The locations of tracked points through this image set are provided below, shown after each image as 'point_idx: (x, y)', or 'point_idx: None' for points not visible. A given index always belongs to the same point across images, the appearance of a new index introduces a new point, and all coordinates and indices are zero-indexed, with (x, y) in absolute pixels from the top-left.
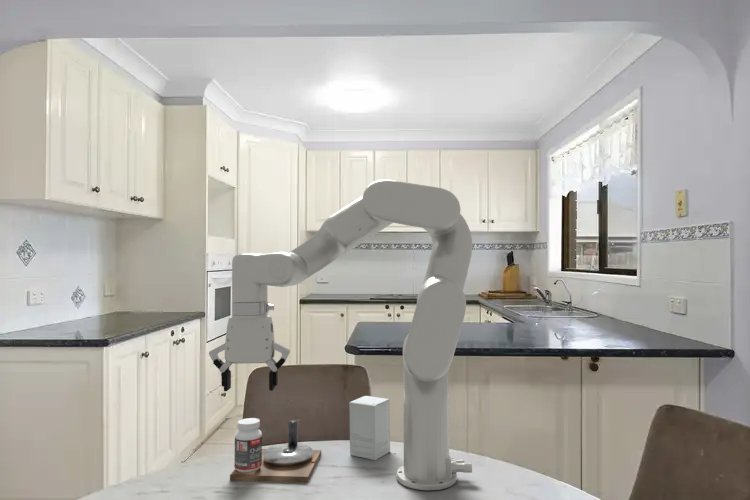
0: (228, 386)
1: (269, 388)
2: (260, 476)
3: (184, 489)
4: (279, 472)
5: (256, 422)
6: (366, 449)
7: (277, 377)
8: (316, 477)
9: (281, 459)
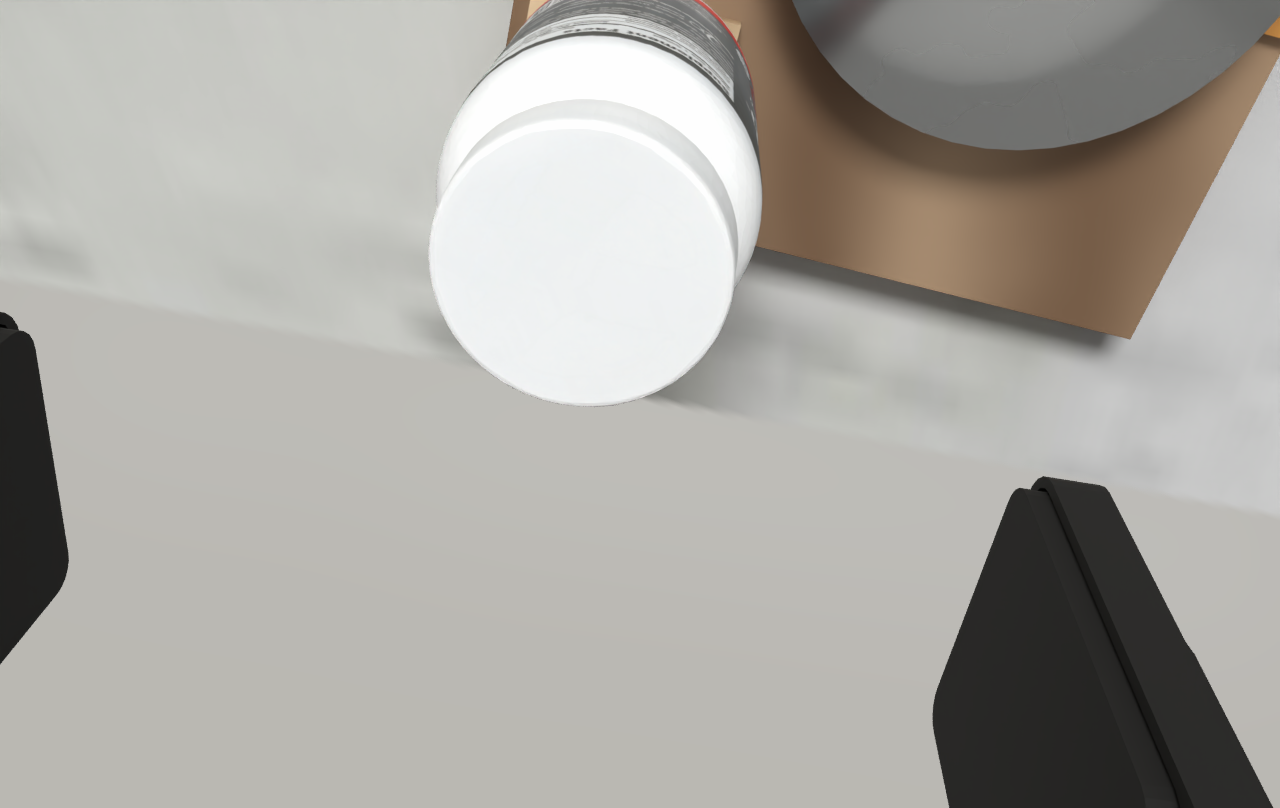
0: (19, 545)
1: (942, 743)
2: None
3: (186, 253)
4: (908, 211)
5: (692, 360)
6: None
7: (1238, 745)
8: (1213, 231)
9: (952, 102)
